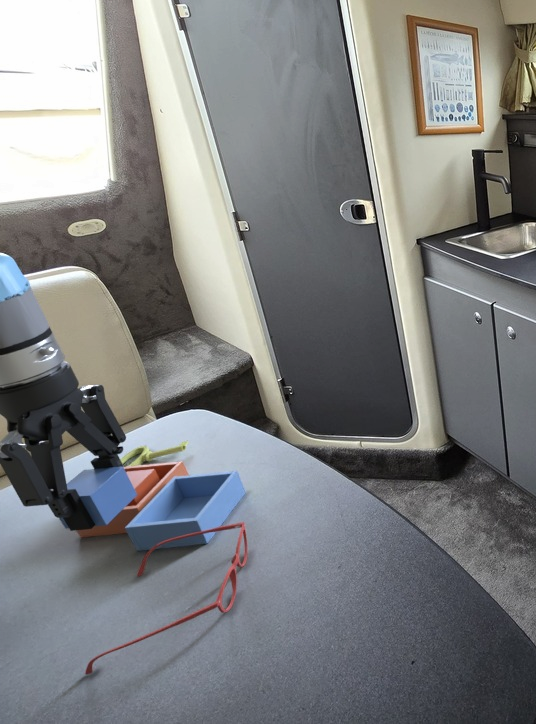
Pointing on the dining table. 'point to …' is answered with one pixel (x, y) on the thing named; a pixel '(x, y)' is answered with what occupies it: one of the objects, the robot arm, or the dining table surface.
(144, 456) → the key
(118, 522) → the terracotta bin
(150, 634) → the red eyeglasses
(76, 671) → the dining table surface
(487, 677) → the dining table surface
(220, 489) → the blue bin
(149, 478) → the terracotta block
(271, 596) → the dining table surface
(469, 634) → the dining table surface
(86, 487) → the blue block
